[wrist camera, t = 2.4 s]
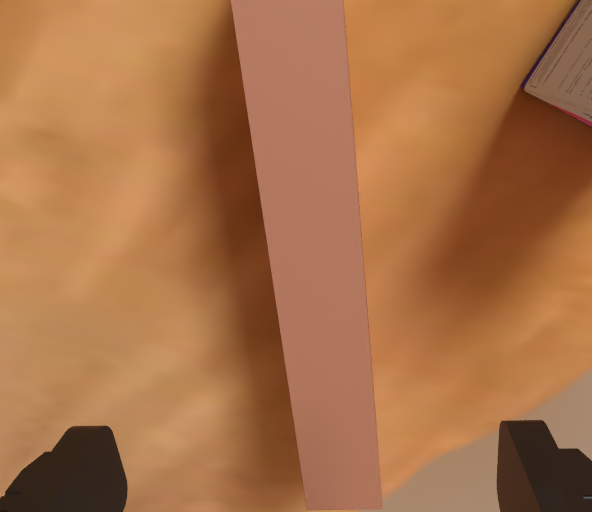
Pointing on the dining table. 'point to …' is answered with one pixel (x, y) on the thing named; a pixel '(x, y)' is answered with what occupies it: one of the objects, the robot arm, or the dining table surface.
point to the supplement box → (567, 66)
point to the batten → (314, 238)
